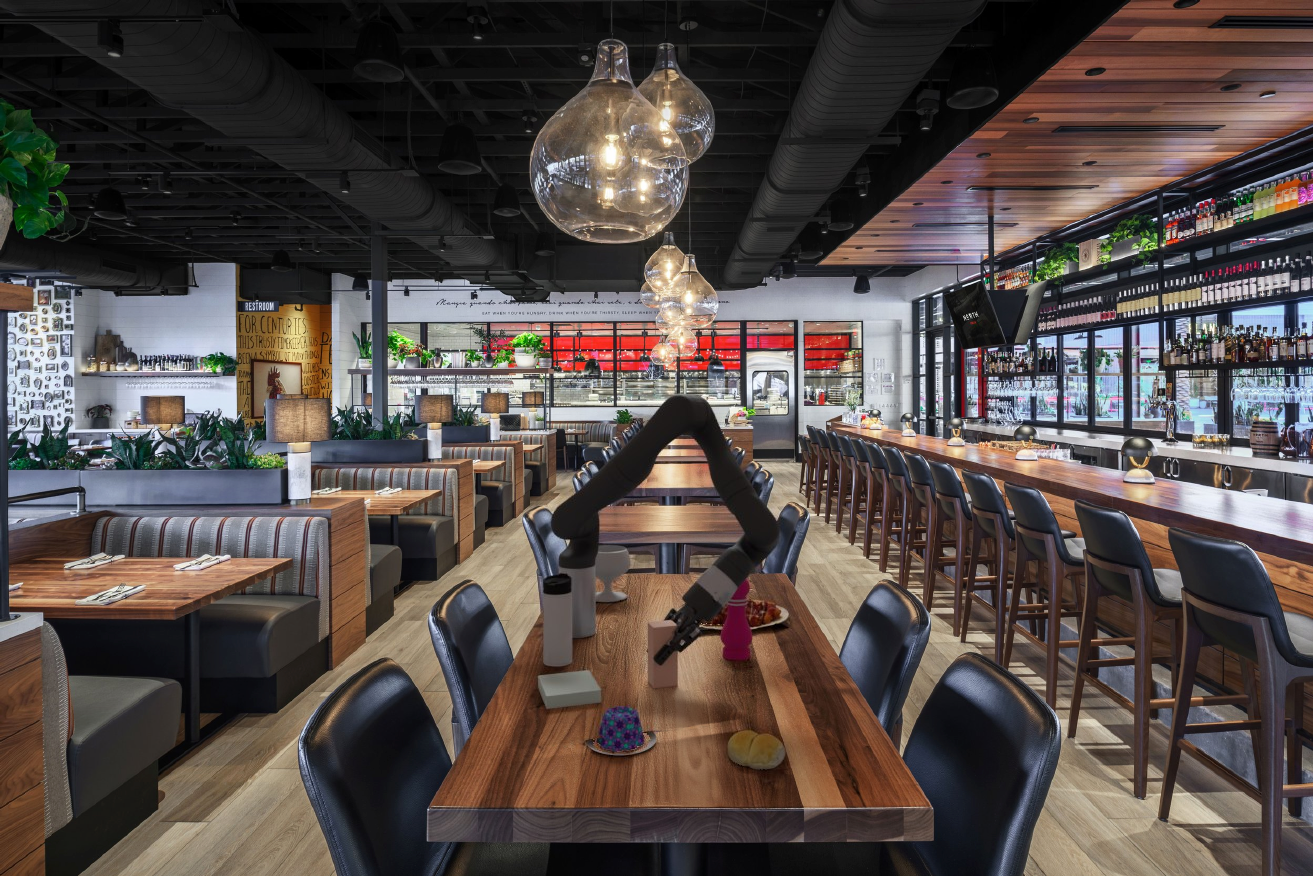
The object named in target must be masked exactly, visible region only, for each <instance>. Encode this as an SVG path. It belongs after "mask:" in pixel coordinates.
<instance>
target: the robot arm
mask: <svg viewBox="0 0 1313 876" xmlns="http://www.w3.org/2000/svg"><path fill="white" fill-rule="evenodd" d="M682 436H687V437H688V436H689V437H691V438H692V439H694V441H695V442H696V443H697V444H698V446H699V447H700V448H701V450H702V452H703V454H704V456H705V458H706V461H707V466H708V470H709V476H710V479H711V482H712V484H713V487H714V489H715V491H716V492H717V494H718V496H719V497H720V499H721V501H722V502H723V504H724V505H725V507H726V508H727V510H728V511H729V512H730V514H732V515H733V516H734V517H735V519H736V521H737V522H738V524H739V525H740V527H741V529H742V530H743V535H741V537H740V538H739V539H738V540H737V541H736V542H735V543H734V545H733V546H731V547H728V548H726V549H725V550H724V551H723V552H722V553H721V554H720V555H719V556H718V557H717V559H716V560H715V561H714V562H713V563H712V564H711V566H709V567H708V568H707V569H706V570H705V571H704V572H703V573H702V574H701V575H700V576H699V577H698V578H697V579H696V581H695V582H694V583H693V584H692V585H691V586H690V587H689V589H688V590H687V591H685V593H684V594H683V595H682V596H681V598H682V602H684V604H685V605H684V606H683V607H682V608H680V609H679V610H678V611H676V610H677V609H675V608H674V607H672V608H671V609H670V610H669V611H668V613H667V614H666V616H665V617H664V618H663V620H662V621H666V620H671V621H673V622H674V623H675V624H676V625H677V626H676V628H675V629H674V630H673V631H672V636H671V637H670V638H669V639H668V641H667V642H666V645H665V644H664V645H663V647H662V648H661V649H660V650H659V651H658V652H657V653H656V655H655V656H654V657H653V660H654V661H655V662H656V663H657V664H658V665H660V666H661V665H663V663H664V662H665V661H666V660H667V659H668V658H669V657H670V655H671V654H672V653H673V652H677V651H678V654H679V653H682V652H683V651H685V650H687V648H688V647H689V646H690V645H692V644H693V643H694V642H695V641H696V640H698V638H700V637H701V636H702V635H703V632H702V630H699V629H698V627H699V626H700V624H701V622H702V621H703V620H704V621H706V622H707V623H710V622H711V621H712V620H713V618H714V617H715V616H716V615H717V614H718V613H719V612H720V610H721V609H722V608H723V607H724V606H725V605H726V603H727V602H728V601H729V600H730V599H731V598H732V596H733V595H734V593H735V592H736V590H737V589H738V588H739V586H740V585H741V584H742V583H743V582H744V581H745V580H746V579H748V577H749V575H751V573H752V572H753V571H754V570H755V569H756V568H757V567H758V566H759V565H760V564H762V562H764V561H765V559H767V558H768V557H769V556H770V554H772V553H773V552H774V550H775V549H776V548H777V546H778V544H779V542H780V537H781V536H780V535H781V530H780V525H779V522H778V520H777V518H776V517H775V515H774V514H773V512H772V511H771V510H770V508H769V507H768V506H767V504H765V502H764V501H763V500H762V499H761V497H759V495H758V493H757V492H756V489H755V488H754V486H753V485H752V483H751V481H750V480H749V479H748V477H747V475H746V474H745V472H744V470H743V469H742V468H741V466H740V465H739V462H738V461H737V459H736V457H735V456H734V454H733V452H732V450H731V448H730V446H729V444H728V442H727V440H726V437H725V435H724V432H723V431H722V428H721V426H720V424H719V421H718V419H717V416H716V414H715V412H714V410H713V408H712V405H711V404H710V403H709V402H708V401H707V400H706V399H705V398H703V397H702V396H699V395H695V394H687V393H676V394H673V395H671V396H669V397H667V399H665V400H664V401H663V403H662V404H661V405H660V406H659V407H658V409H657V410H656V411H655V412H654V413H653V414H652V416H651V417H650V418H649V420H648V421H647V422H646V423H645V425H643V427H641V429H640V430H639V431H638V432H636V433H635V435H634V436H633V437H631V438H630V440H629V441H627V443H626V444H625V445H624V446H622V448H620V449H619V450H618V451H617V452H616V453H615V454H614V455H613V456H612V457H611V458H610V459H609V460H608V461H607V462H605V464H604V465H603V466H602V467H601V468H600V469H599V470H598V471H597V472H596V473H595V474H594V475H592V476H591V478H590V479H589V480H588V481H587V482H585V484H584V485H583V486H582V487H581V488H579V489H578V490H577V491H576V492H575V493H573V494H572V495H571V496H569V497H568V498H567V499H565V500H564V501H563V502H561V503H560V504H559V505H558V506H557V507H556V508H555V509H554V511H553V513H552V515H551V519H550V528H551V531H552V533H553V535H555V536H556V537H557V538H558V539H560V540H563V541H564V540H565V541H569V542H568V545H567V546H566V548H565V549H563V551H562V552H561V553H560V554H559V555H558V575H559V574H560V573H566V574H568V576H570V577H571V578H572V587H571V588H572V639H583V638H588V637H591V636H594V635H595V634H596V632H597V631H596V630H597V629H596V627H597V624H596V623H597V621H596V618H597V610H596V608H597V604H596V588H597V586H596V581H597V579H596V578H597V577H595V560H596V556H597V554H598V549H599V546H600V515H599V512H600V511H602V510H603V509H606V508H607V507H609V506H611V505H612V504H614V503H616V502H618V501H620V500H622V499H623V498H625V497H626V496H628V495H630V494H631V493H632V492H633V491H635V490H636V489H637V488H638V487H640V485H641V484H643V482H644V481H645V480H646V479H648V477H649V476H650V475H651V473H652V471H653V468H654V466H655V464H656V460H657V459H658V456H659V455H660V453H661V452H662V451H663V450H664V449H666V447H667V446H669V444H671V443H672V442H674V441H675V440H676V439H678V438H680V437H682ZM675 638H676V639H675ZM646 653H647V654H648V648H647V649H646Z"/></svg>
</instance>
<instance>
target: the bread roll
mask: <svg viewBox="0 0 1313 876" xmlns="http://www.w3.org/2000/svg"><path fill="white" fill-rule="evenodd" d="M727 754H728V757H729V759H730V760H731V761H732V763H734V762H735V763H734V764H736V763H737V764H736V765H738V764H739V766H741V765H742V766H743V767H749V768H751V769H753V770H760V769H761V771H762V770H763V769H765V770H771V769H774V768H776V767H778V766H779V765H781V763H782V762H783V760H784V758H785V757H786V748H785V746H784V744H783V743H782V741H781V740H779V739H778V738H777V737H776V736H774V735H773V734H770V733H762V734H760V733H759V734H758V733H757V732H755V731H754V730H751V729H750V730H749V729H747V730H741V731H738V732H736V733H734V734H733V735H732V736H731V737H730V738H729V740H728V742H727ZM742 766H741V767H742Z"/></svg>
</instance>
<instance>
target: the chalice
mask: <svg viewBox="0 0 1313 876" xmlns="http://www.w3.org/2000/svg"><path fill="white" fill-rule="evenodd" d="M631 562H632V561H631V556H630V553H629V551H628V549H627V547H625V546H622V545H616V544H607V545H606V544H603V545H602V544H601V545H599V549H598V554H597V556H596V560H595V577H596V578H597V579H598V580H600V581H601V582H602V584H603V586H604V587H603V590H602V591H597V592H596V602H598V603H614V602H616V603H617V602H620V600H621V601H624V600H626V599H628V597H627V596H628V595H627V594H626V593H624V592H619V591H613V590H612V589H611V587H612V583H613V582H614V580H616V579H618V578H619V577H620V576H623V575H624V574H626V573H627V572H628V570H629V569H630V568H631V565H632V564H631Z"/></svg>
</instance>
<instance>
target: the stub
mask: <svg viewBox="0 0 1313 876" xmlns="http://www.w3.org/2000/svg"><path fill="white" fill-rule="evenodd" d="M676 626H677V625H676V624H675V623H674V622H673V621H671V620H666V621H663V620H658V621H657V620H655V621H648V622H647V649H648V653H647V682H648V684H649V685H650V686H651V687H652V688H653V689H662V688H668V687H670V688H671V687H676V686H679V684H678V683H679V682H678V680H679V673H678V672H679V659H678V656H679V655H678V654H679V652H678V651H677V652H673V653H672V654H671V655H670V657H669V658H668V659H667V660H666V661H665V662H664V663H663V665H661V666H660V665H658V664H657V663H656V662H655V661H654V660H653V657H654V656H655V655H656V653H657V652H658V651H659V650H660V649H661V648H662V647H663V645H664V644H665V645H666V642H667V641H668V639H669V638H670V637H671V636H672V631H673V630H674V629H675V628H676ZM675 639H676V638H675Z"/></svg>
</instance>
